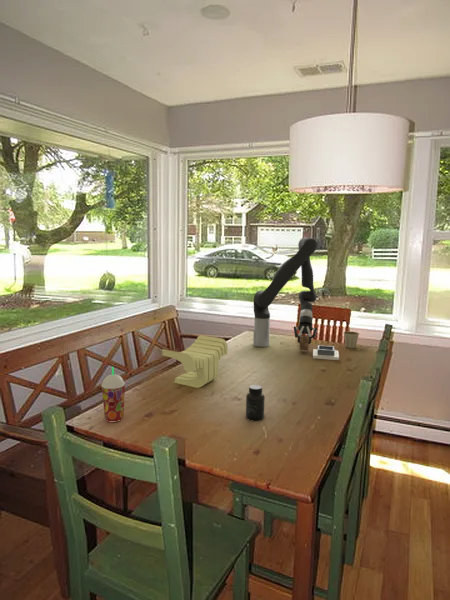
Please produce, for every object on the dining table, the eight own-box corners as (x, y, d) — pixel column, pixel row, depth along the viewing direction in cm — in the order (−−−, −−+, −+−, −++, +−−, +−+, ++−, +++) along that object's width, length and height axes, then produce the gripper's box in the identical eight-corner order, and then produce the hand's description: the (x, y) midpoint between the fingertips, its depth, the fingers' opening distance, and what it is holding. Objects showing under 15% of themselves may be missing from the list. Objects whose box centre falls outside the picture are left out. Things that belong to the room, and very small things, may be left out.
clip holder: (312, 358, 238) (313, 350, 237) (313, 351, 251) (313, 343, 250) (339, 360, 235) (339, 352, 234) (337, 353, 248) (338, 345, 247)
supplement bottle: (252, 412, 166) (253, 382, 164) (267, 417, 162) (268, 386, 160) (242, 417, 161) (242, 387, 159) (257, 423, 157) (257, 391, 155)
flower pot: (339, 345, 264) (339, 332, 263) (351, 344, 268) (352, 330, 267) (349, 349, 256) (350, 335, 254) (361, 348, 260) (362, 334, 258)
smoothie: (116, 412, 164) (115, 362, 161) (130, 419, 159) (129, 366, 156) (97, 420, 158) (96, 367, 155) (111, 426, 153) (110, 372, 149)
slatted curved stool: (193, 395, 182) (193, 354, 180) (162, 388, 190) (162, 349, 187) (227, 375, 208) (227, 339, 206) (199, 369, 216) (199, 335, 213)
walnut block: (299, 349, 249) (300, 336, 247) (299, 348, 252) (300, 334, 251) (308, 350, 248) (309, 337, 246) (308, 348, 251) (309, 335, 250)
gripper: (293, 314, 256) (291, 338, 246) (318, 315, 253) (317, 340, 243) (293, 321, 262) (291, 345, 252) (317, 322, 259) (316, 347, 249)
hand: (304, 343), depth 248 cm, fingers closed on walnut block, 5 cm apart
